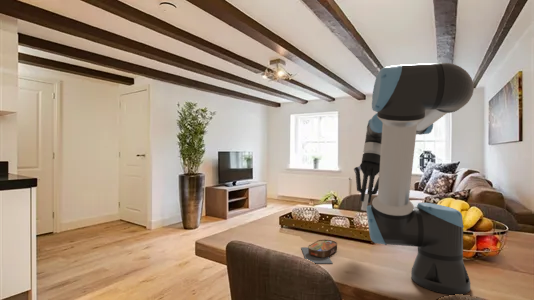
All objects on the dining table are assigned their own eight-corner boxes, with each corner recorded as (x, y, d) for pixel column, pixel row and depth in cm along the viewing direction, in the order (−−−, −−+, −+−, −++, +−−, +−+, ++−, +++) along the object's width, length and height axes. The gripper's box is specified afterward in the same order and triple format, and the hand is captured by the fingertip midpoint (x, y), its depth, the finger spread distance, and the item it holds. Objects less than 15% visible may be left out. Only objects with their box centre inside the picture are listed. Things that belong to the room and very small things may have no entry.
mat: (332, 263, 99) (332, 263, 99) (307, 263, 99) (307, 263, 99) (323, 248, 115) (323, 247, 115) (301, 248, 115) (301, 247, 115)
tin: (324, 252, 101) (304, 246, 106) (323, 261, 101) (303, 254, 106) (340, 242, 113) (321, 236, 118) (340, 249, 113) (321, 244, 118)
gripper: (384, 159, 121) (377, 213, 117) (354, 153, 123) (345, 206, 118) (391, 155, 114) (383, 213, 109) (359, 149, 116) (349, 206, 111)
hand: (363, 210), depth 114 cm, fingers closed
